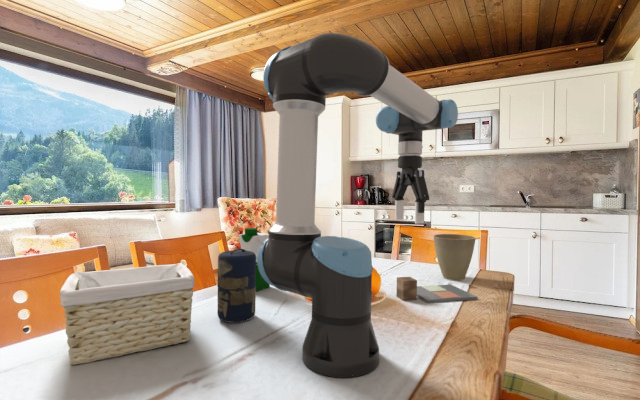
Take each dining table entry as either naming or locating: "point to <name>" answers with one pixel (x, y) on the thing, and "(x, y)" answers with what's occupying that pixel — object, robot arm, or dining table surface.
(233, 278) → the canister
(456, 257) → the plant pot
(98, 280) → the storage basket
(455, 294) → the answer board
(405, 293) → the brown wooden block
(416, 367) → the dining table surface
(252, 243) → the milk carton
